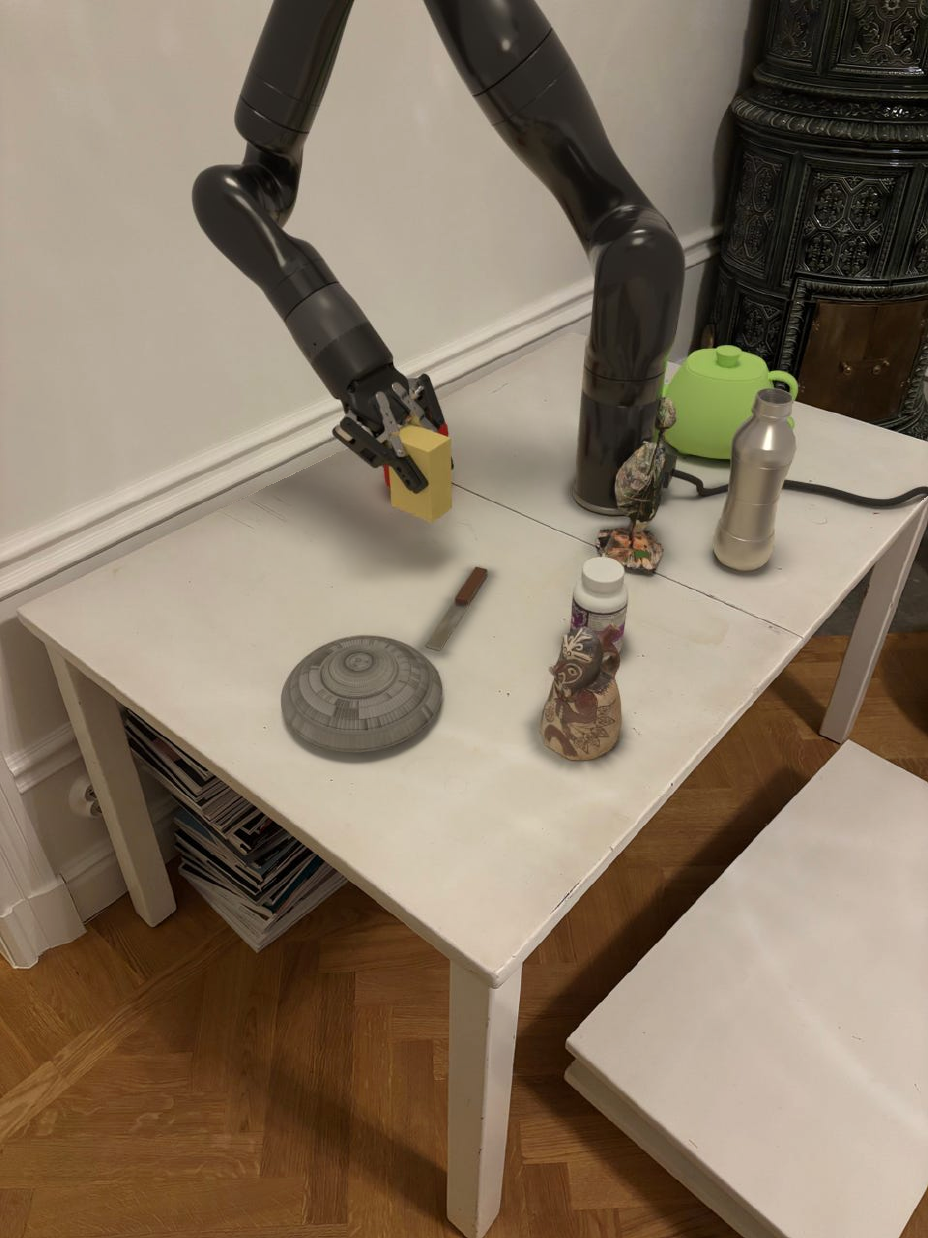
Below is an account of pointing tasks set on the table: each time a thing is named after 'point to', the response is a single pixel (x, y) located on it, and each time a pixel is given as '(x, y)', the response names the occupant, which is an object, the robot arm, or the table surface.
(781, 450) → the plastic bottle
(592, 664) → the figurine
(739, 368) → the teapot
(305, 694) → the flying saucer
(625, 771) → the table surface
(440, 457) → the butter portion
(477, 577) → the butter knife
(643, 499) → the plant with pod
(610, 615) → the pill bottle
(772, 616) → the table surface
